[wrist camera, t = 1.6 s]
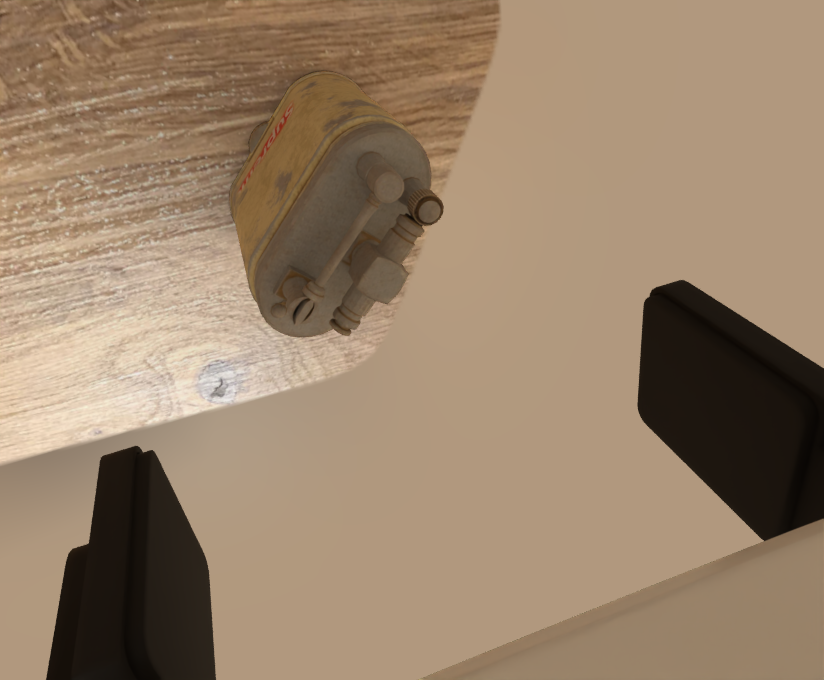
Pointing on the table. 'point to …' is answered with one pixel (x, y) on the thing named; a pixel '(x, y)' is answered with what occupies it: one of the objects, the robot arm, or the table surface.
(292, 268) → the lighter
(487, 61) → the table surface
